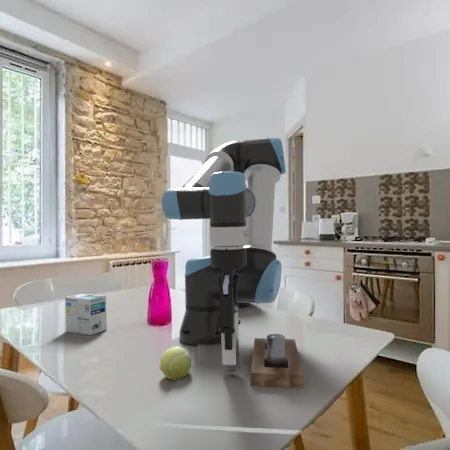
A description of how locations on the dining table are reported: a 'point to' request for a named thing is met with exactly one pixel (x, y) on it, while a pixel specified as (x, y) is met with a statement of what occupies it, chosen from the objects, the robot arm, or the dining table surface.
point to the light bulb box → (86, 314)
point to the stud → (236, 367)
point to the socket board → (276, 376)
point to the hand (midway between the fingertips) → (230, 359)
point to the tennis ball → (175, 363)
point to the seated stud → (276, 351)
